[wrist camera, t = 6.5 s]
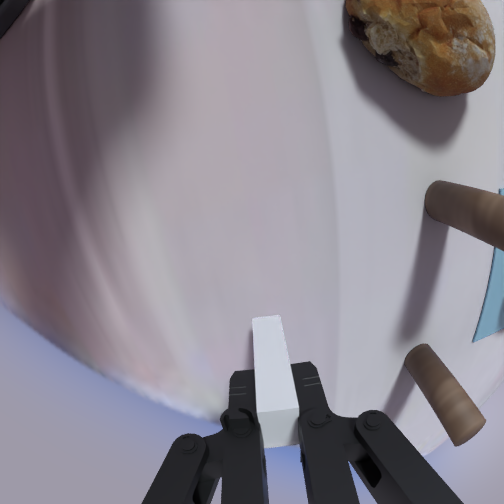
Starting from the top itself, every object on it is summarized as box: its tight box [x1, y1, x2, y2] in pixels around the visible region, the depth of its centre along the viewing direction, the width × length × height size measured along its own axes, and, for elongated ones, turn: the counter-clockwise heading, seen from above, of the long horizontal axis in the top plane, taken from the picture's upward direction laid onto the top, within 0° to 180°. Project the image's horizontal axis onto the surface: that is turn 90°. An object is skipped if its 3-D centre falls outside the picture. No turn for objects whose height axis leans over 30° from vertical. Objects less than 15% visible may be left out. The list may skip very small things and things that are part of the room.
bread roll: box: [345, 0, 495, 97], centre depth 9 cm, size 10×10×8 cm
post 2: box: [405, 344, 486, 446], centre depth 15 cm, size 3×3×9 cm
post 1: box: [425, 180, 504, 251], centre depth 11 cm, size 3×3×9 cm
